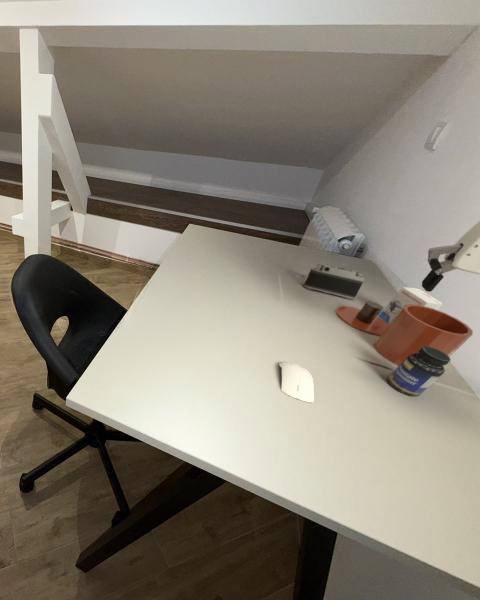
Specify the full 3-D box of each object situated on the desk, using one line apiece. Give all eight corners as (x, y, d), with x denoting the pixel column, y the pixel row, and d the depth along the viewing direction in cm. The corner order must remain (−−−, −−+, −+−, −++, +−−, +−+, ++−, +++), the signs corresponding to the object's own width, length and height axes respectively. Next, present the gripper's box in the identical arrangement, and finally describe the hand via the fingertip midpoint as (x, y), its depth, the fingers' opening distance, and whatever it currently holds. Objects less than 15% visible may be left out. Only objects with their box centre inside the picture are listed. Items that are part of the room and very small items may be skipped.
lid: (380, 318, 99) (394, 301, 95) (396, 343, 88) (412, 324, 85) (331, 304, 103) (342, 287, 100) (340, 327, 93) (353, 308, 89)
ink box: (376, 317, 99) (401, 286, 93) (391, 318, 100) (417, 287, 93) (398, 334, 92) (427, 302, 86) (415, 336, 92) (444, 303, 86)
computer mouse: (281, 393, 69) (285, 386, 67) (276, 359, 78) (281, 352, 77) (315, 405, 67) (321, 398, 65) (307, 369, 76) (311, 362, 75)
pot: (420, 351, 86) (456, 314, 79) (441, 382, 76) (484, 342, 69) (367, 336, 90) (396, 299, 83) (380, 363, 80) (415, 324, 73)
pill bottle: (380, 378, 75) (411, 345, 69) (397, 375, 77) (429, 342, 71) (407, 399, 71) (443, 365, 64) (425, 395, 72) (462, 361, 66)
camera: (345, 295, 113) (358, 269, 110) (355, 301, 105) (370, 273, 102) (297, 283, 118) (308, 258, 114) (304, 288, 110) (316, 261, 107)
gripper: (580, 223, 56) (499, 301, 65) (455, 202, 62) (398, 276, 71) (614, 236, 50) (521, 319, 60) (474, 211, 56) (409, 290, 66)
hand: (454, 296), depth 66 cm, fingers open, 9 cm apart
